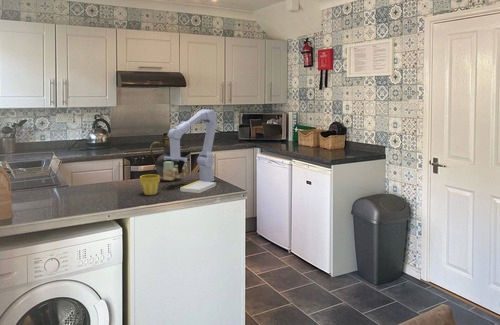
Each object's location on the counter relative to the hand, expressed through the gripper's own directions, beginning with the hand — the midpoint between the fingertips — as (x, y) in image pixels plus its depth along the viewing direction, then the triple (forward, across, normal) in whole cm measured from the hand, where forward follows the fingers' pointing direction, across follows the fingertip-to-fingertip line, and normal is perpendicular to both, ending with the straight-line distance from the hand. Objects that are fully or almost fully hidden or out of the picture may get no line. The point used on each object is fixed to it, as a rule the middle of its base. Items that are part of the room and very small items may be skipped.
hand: (175, 172), depth 247 cm
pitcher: (+8, -14, +12) cm, 20 cm away
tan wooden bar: (+2, 0, 0) cm, 2 cm away
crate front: (-4, 0, -7) cm, 8 cm away
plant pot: (+8, -3, -21) cm, 23 cm away
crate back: (-4, 0, +7) cm, 8 cm away
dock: (+8, +15, 0) cm, 17 cm away
